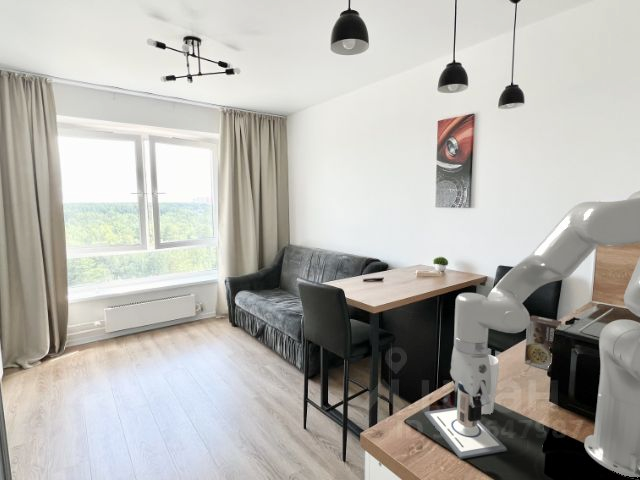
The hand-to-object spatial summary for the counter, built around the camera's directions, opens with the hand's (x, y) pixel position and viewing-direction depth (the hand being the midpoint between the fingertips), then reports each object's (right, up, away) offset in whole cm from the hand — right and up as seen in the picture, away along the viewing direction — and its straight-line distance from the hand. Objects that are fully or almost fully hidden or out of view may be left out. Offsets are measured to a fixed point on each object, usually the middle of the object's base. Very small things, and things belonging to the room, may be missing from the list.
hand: (467, 412), depth 86 cm
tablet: (-1, -5, 0) cm, 5 cm away
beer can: (0, -3, 0) cm, 3 cm away
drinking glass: (+8, -4, +9) cm, 13 cm away
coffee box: (+40, 0, +34) cm, 52 cm away
